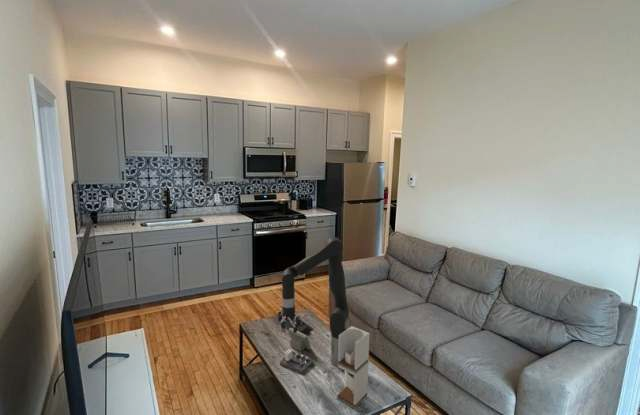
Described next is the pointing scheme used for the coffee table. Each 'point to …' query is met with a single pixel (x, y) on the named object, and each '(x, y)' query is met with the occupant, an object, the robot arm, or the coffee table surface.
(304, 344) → the digital clock
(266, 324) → the coffee table surface
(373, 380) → the coffee table surface
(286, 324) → the dark slate chunk
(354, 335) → the display case
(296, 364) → the console
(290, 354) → the fader tab
